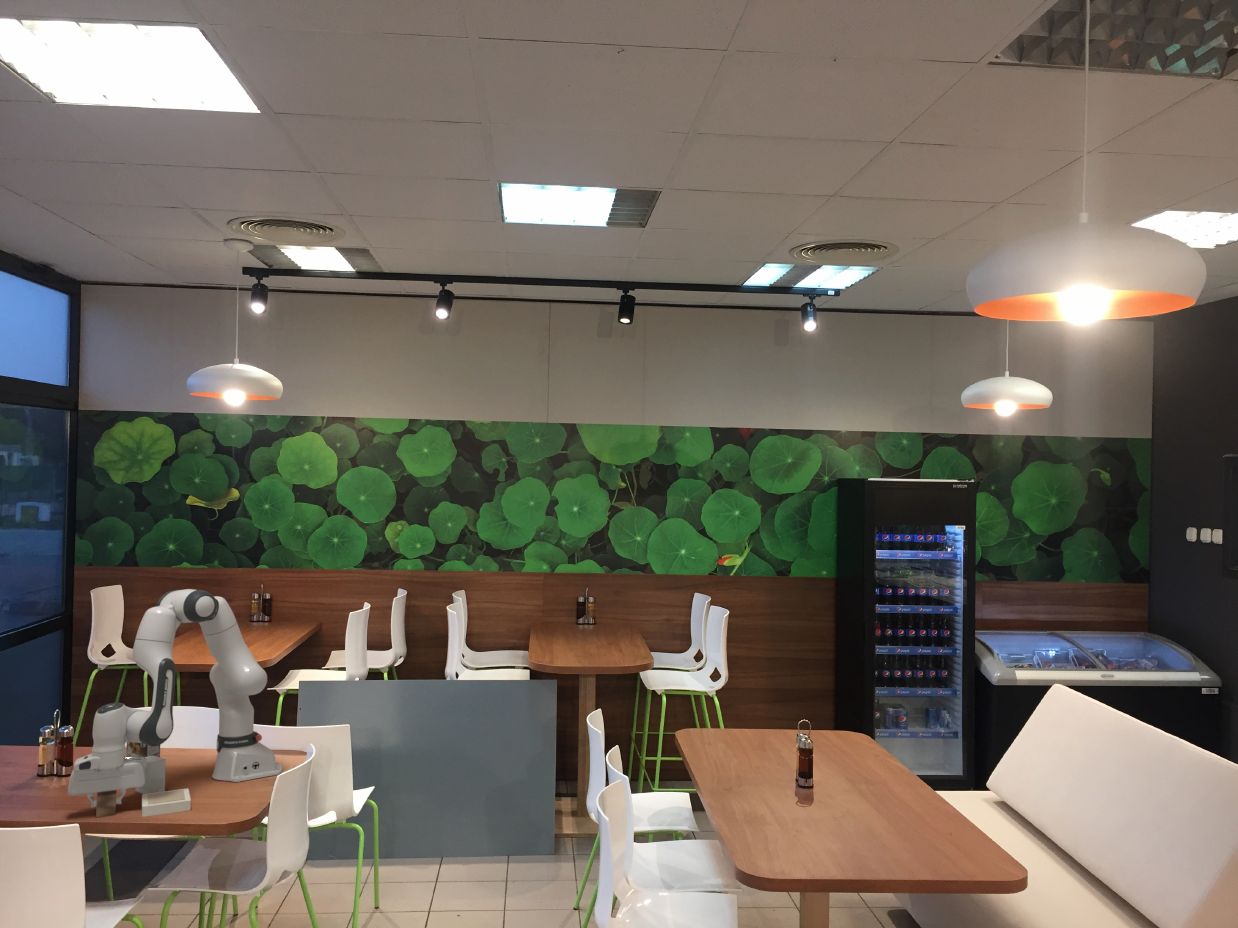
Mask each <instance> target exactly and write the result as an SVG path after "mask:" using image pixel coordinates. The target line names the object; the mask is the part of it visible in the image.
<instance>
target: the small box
mask: <svg viewBox="0 0 1238 928" xmlns="http://www.w3.org/2000/svg"><path fill="white" fill-rule="evenodd" d="M145 758H146V759H147V767H146V768H145V769H144V772H145V784H144V785H143V786H142V787H136V788H135V792H136V793H139V794H141V795H142V794H148V793H156V792H164V791H166V762H167V761H166V758H164V757H161V756H160V757H157V756H148V757H145ZM142 759H144V758H142Z"/></svg>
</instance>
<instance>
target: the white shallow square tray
mask: <svg viewBox="0 0 1238 928" xmlns="http://www.w3.org/2000/svg"><path fill="white" fill-rule="evenodd" d="M191 801H192V800H191V794H190V790H189V788H181V789H173V790H168V791H167V790H165V791H164V792H156V793H148V794H142V793H141V817H142V818H144V817H145V818H147V817H151V816H160V815H166V814H172V813H173V814H175V813H180V812H181V813H182V812H188V811H191V804H192V802H191Z"/></svg>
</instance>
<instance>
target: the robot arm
mask: <svg viewBox="0 0 1238 928" xmlns="http://www.w3.org/2000/svg"><path fill="white" fill-rule="evenodd" d="M188 623H195V624H197V623H198V624H199V625H200V629H201V632H202V635H203V637H204V640H205V642H206V646H207V647H208V650H209V653H210V655H211V656H212V657H213V658H214V659H215V661H216V663H214V664H213V666H212V667H211V669H210V671H209V680H210V682H211V684H212V686H213V689H214V691H215V695H216V702H217V706H218V713H219V717H218V718H219V719H218V721H219V723H218V734H217V739H216V751H217V754H216V761H215V765H214V769H213V772H212V775H211V778H213V779H214V780H217V781H227V782H232V783H239V782H244V781H250V780H255V779H261V778H266V777H272V776H278V775H280V774H281V773H282V772H283V766H282V765H281V764H280V763H278V762H277V759H276V755H275V753H274V751H273V750H272V749H271V748H269V747H267V746H265V744H262V743H261V742H260V741H262V739H263V735H261V734H260V733H259V732H258V731H255V730H254V722H255V719H254V717H255V716H254V715H255V709H254V706H253V705H252V703H251V701H250V698H249V697H250V696H255V695H257V694H259V693H261V692H262V691H263V690H264V689H265V687H266V685H267V683H268V674H267V672H266V670H265V669H264V668H263V667H261V665H260V664H259V663H258V661H257V660H256V659H255V657H254V655H253V653H252V652H251V651H250V649H249V647H248V646H247V644H246V642H245V640H244V638H243V636H242V635H243V634H242V632H241V629H240V627H239V624H238V621H237V619H236V616H235V614H234V612H233V610H232V608H231V606H230V605H229V603H228V602H227V600H226V599H225V597H222V596H217V595H216V596H215V595H213V594H212V593H210V592H209V591H207V590H203V589H193V588H186V589H173V590H170V591H167V592H165V593H164V594H162V595H161V596H160V598H159V599H158V601H157V603H156V604H155V606H153V607H150V608H148V609H147V610H146V611H145V612H144V614H143V617H142V619H141V621H140V623H139V626H138V629H137V632H136V635H135V640H134V643H133V647H132V659H133V661H134V662H135V664H136V665H137V667H138V668H140V669H141V670H143V671H144V672H146V673H147V674H148V675H149V677H151V680H152V682H153V692H152V702H151V708H150V709H151V710H144V709H139V708H138V709H137V708H133V707H129V706H126V705H125V704H124V703H123V702H111V703H107V704H104V705H102V706H100V707H99V708H98V709H97V710H96V712H95V714H94V718H93V722H92V723H93V725H92V739H93V745H92V748H91V753H89V754H87V755H84V756H82V757H79V758H76V760H75V761H74V763H73V770H72V771H71V773H70V777H69V781H68V786H67V793H68V795H69V796H71V797H72V796H79V795H80V796H81V795H87V797H86V798H87V799H88V801H89V802H90V808H92V809H93V808H96V807H97V799H94V798H93V795H94V794H95V793H97V792H104V791H112V790H117V791H119V790H120V794H119V796H116V806H117V805H122V799H123V798H124V796H125V795H126V793H127V789H134V788H135V789H136V787H142V786H143V785H144V784H145V772H144V769H145V768H146V767H147V759H146V758H145V757H142V756H131V757H126V744H127V742H128V741H131V742H137V743H143V744H146V745H149V746H159V745H160V746H161V745H163V744H164V743H165V742H166V741H167V740H169V738H170V737H171V735H172V733H173V732H174V726H175V725H174V715H173V711H174V710H173V708H174V698H175V686H176V673H177V670H176V664H175V662H174V659H173V647H174V644H175V643H174V641H175V639H176V638H175V637H176V632H177V629H178V628H179V626H181V624H188ZM142 758H144V759H142Z"/></svg>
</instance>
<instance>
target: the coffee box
mask: <svg viewBox="0 0 1238 928" xmlns="http://www.w3.org/2000/svg"><path fill="white" fill-rule="evenodd" d="M131 756H142V757H148V756H157V757H160V758H161V745H159V746H149V745H146V744H143V743H137V742H131V741H128V742H126V745H125V757H131Z"/></svg>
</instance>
